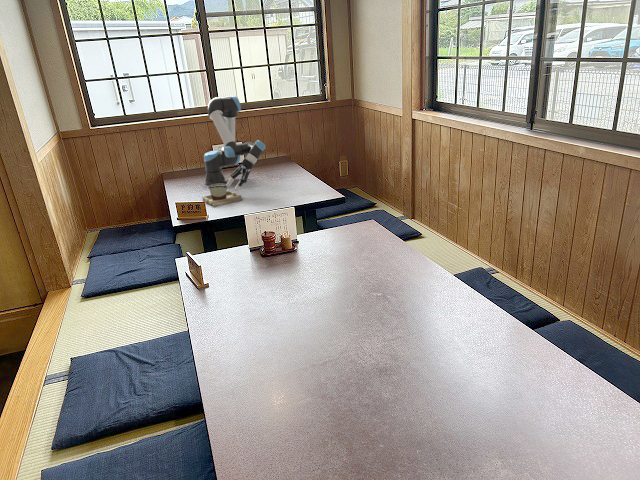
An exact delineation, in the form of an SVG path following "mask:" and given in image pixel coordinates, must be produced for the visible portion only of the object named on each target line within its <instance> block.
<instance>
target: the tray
mask: <svg viewBox="0 0 640 480" xmlns="http://www.w3.org/2000/svg"><path fill="white" fill-rule="evenodd" d="M226 192H227V199H223V200H215V201H213V200H212V197H211V194H209V195H205V196H202V197H201V198H202V202H203V201H205V202H206V203H205V202H204V203H205V204H208V205H209V206H211V207H213V208H215V207H219V206H223V205H226V204H227V205H228V204H232V203H235V202H239V201H242V200H243V198H242V197H243V196H242V195H241V194H239V193H236V192H234V191H231V190H226Z"/></svg>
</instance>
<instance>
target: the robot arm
mask: <svg viewBox="0 0 640 480" xmlns="http://www.w3.org/2000/svg"><path fill="white" fill-rule="evenodd" d="M241 110H242V106H241V102H240V99H239V98H238V97H237V96H236V95H226V96H217V97H214V98H213V97H212V99H211V100H209V102H208V105H207V114H208V115H207V116H208V117H209V119H210V120H211V121H213V122H212V123H213V124H214V126H215V128H216V131H217V132H218V134H219V136H220V139H221V140H222V142H223V146H222V147H221V150H220V151H219V150H210V151H208V152H205V153H204V155H203V161H204V169H205V178H204V184H205V185H208V186H209V185H212V184H217V183H224V184H226V185H227V188H230V187H231V186H232V184H233V183H234V181H235V180H236V178H237V177H239V176H240V175H241V177H240V179H239V181H238V182H237V184H236V186H234V190H236V191H237V192H239V190H240V189H241V188H242V186H243V184H244V183H247V182H248V181H247V180H248V177H249V175H250V173H251V172H252V171H251V170H252V169H253V167H254V165H255V164H256V163H257V161H258V159H259V158H260V157H261V155H262V154H263V152H264V151H265V149H266V144H265V143H264V142H262V141H261V140H259V139H256V140H255V142H252V141H246V142H244V143H239V144H237V142H236V118H237V117H238V113H240V112H241ZM241 156H245V157H244V159H243V160H242V161H241V164H240V165H239V163H240V160H241ZM237 165H238V166H237ZM234 166H237V168H236V169H234V171H233V172H231V174H230V178H229V179H228V180H227V183H226V178H225V175H224V173H223V171H222V168H226V167H234Z"/></svg>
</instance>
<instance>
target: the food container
mask: <svg viewBox="0 0 640 480" xmlns="http://www.w3.org/2000/svg"><path fill="white" fill-rule="evenodd" d="M226 184H227V183H225V182H224V183H217V184H212V185H208V190H209V192H210V195H211V197H212V200H213V201H215V200H223V199H227V192H226V191H227V188H228V186H227V185H226Z"/></svg>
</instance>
